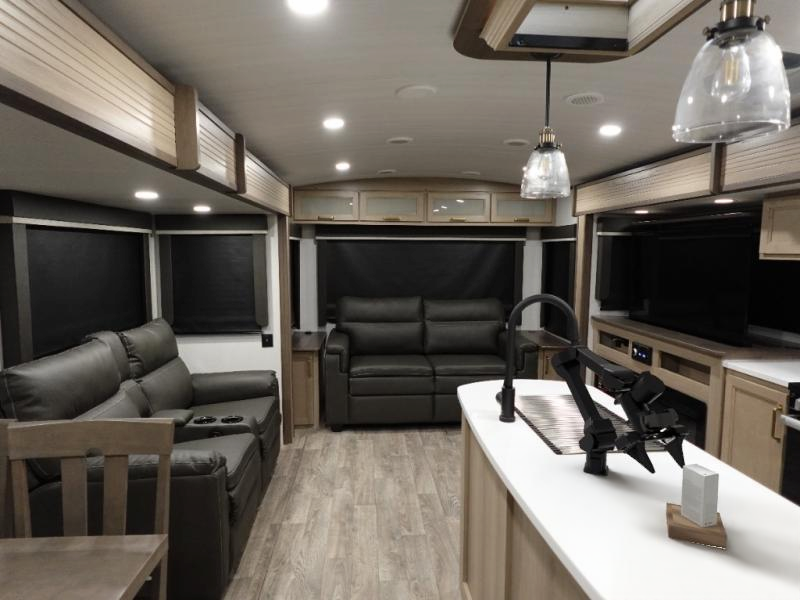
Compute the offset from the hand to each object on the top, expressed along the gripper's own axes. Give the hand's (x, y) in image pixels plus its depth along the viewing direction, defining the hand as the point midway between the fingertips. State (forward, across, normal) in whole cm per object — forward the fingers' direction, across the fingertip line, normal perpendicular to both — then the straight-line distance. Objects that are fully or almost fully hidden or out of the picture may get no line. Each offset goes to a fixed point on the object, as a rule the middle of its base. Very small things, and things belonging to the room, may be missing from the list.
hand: (669, 470), depth 120 cm
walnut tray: (+13, 0, +2) cm, 14 cm away
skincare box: (+12, 0, 0) cm, 12 cm away
